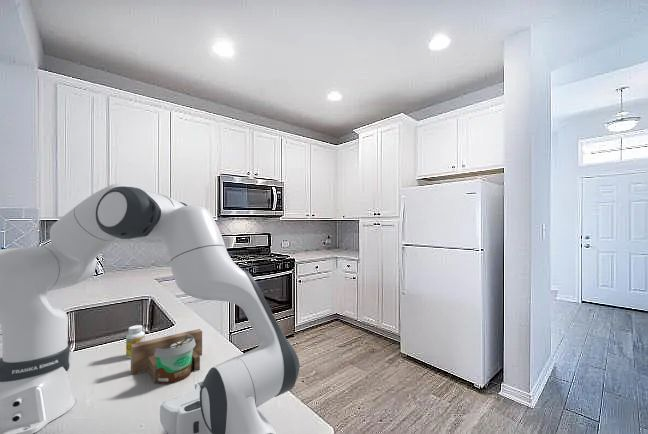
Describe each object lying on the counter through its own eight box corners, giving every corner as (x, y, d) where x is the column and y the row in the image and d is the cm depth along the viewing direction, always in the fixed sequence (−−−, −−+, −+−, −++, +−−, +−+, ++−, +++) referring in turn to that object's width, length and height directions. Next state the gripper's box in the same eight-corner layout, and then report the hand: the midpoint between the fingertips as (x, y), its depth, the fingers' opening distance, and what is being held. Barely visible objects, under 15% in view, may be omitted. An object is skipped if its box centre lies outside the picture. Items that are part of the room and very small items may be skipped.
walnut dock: (138, 389, 79) (138, 358, 79) (130, 371, 89) (130, 344, 89) (213, 365, 92) (213, 339, 92) (199, 352, 102) (199, 328, 102)
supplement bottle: (148, 352, 102) (148, 324, 103) (137, 359, 97) (137, 329, 97) (133, 351, 103) (133, 324, 103) (122, 358, 97) (122, 329, 98)
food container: (170, 390, 78) (170, 352, 79) (153, 386, 80) (153, 349, 81) (204, 369, 90) (204, 336, 90) (189, 366, 92) (189, 333, 92)
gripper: (267, 378, 68) (241, 358, 78) (170, 417, 54) (154, 386, 65) (268, 406, 68) (241, 382, 78) (170, 452, 54) (153, 416, 65)
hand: (201, 385), depth 71 cm, fingers closed
